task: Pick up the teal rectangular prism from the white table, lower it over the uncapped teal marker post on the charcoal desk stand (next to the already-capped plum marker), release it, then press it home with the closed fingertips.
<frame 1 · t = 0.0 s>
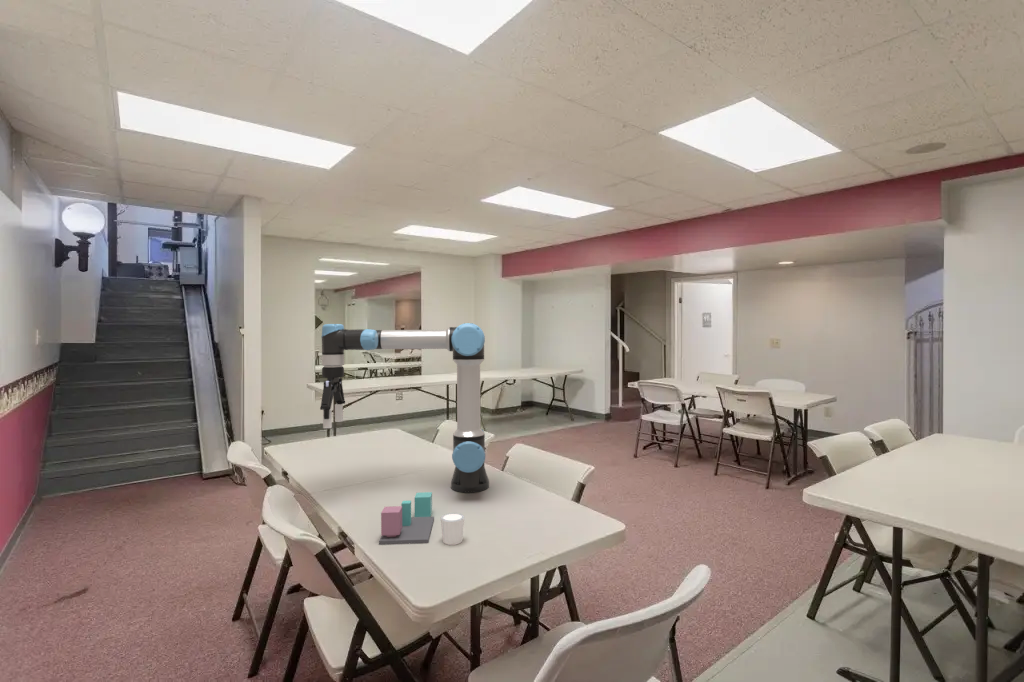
hand: (333, 424, 174), 28 cm above the table, fingers open, 13 cm apart
stand: (408, 531, 147), on the table
white cup: (452, 541, 140), on the table
teal rectangular prism: (423, 514, 161), on the table
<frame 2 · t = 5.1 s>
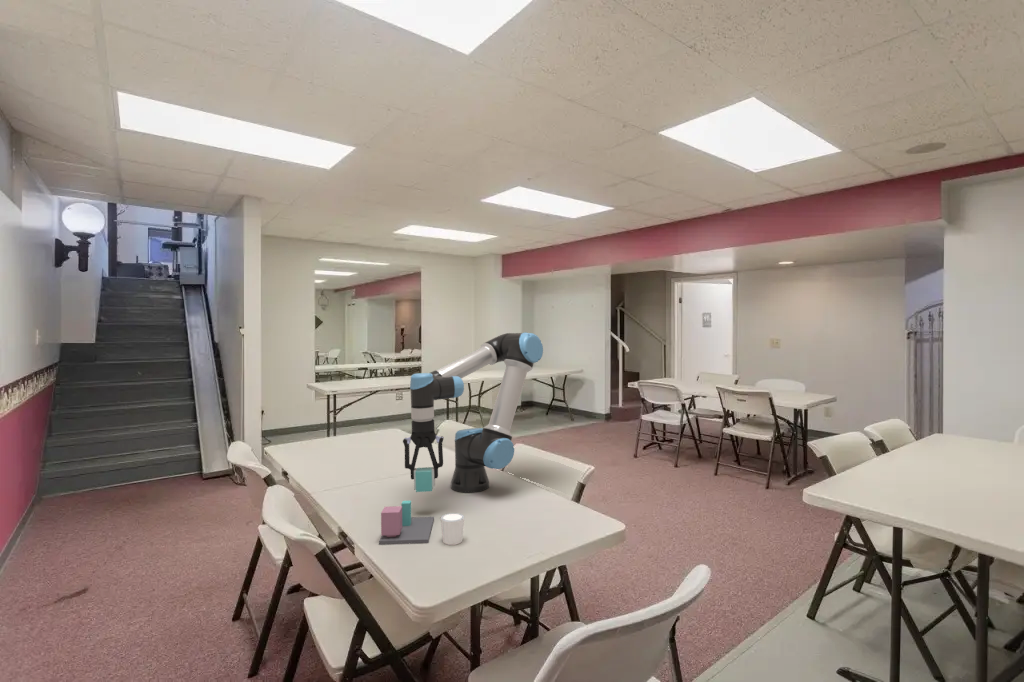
hand: (424, 487, 161), 9 cm above the table, fingers closed on teal rectangular prism, 5 cm apart
teal rectangular prism: (424, 489, 161), point 8 cm above the table, touching gripper
everything else where it was.
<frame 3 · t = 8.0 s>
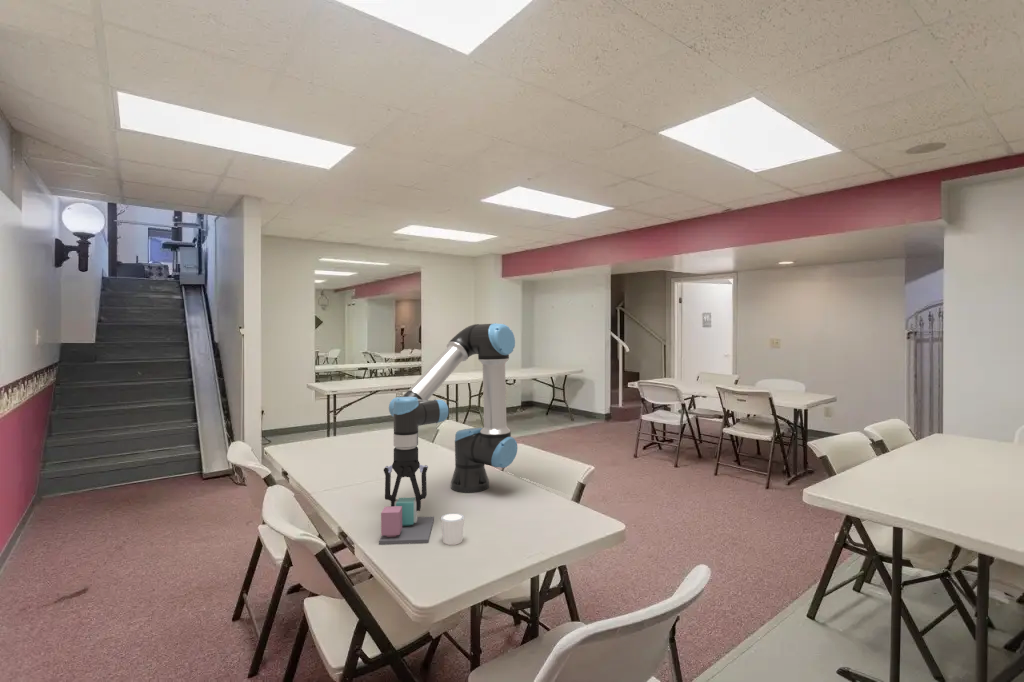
hand: (406, 521, 149), 2 cm above the table, fingers closed on teal rectangular prism, 5 cm apart
teal rectangular prism: (406, 521, 149), point 2 cm above the table, touching gripper, stand
everything else where it was.
when the fingers open (2 cm above the table, at t = 8.1 s): teal rectangular prism stays where it is, resting on stand.
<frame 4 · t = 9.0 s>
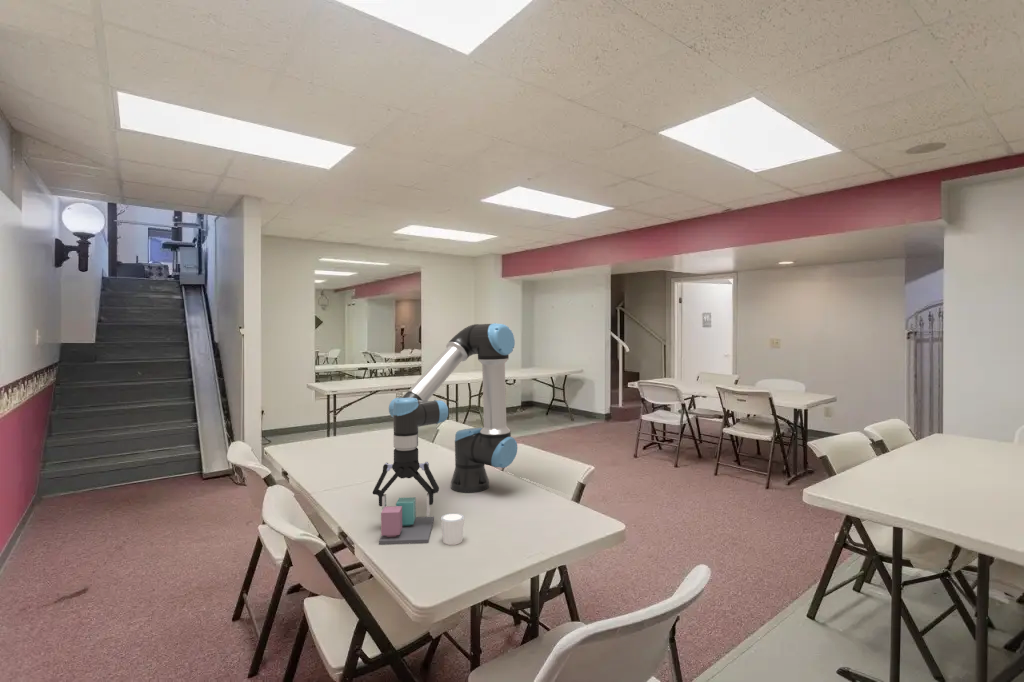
hand: (406, 515, 150), 4 cm above the table, fingers open, 13 cm apart
teal rectangular prism: (406, 521, 149), point 2 cm above the table, touching stand
everything else where it was.
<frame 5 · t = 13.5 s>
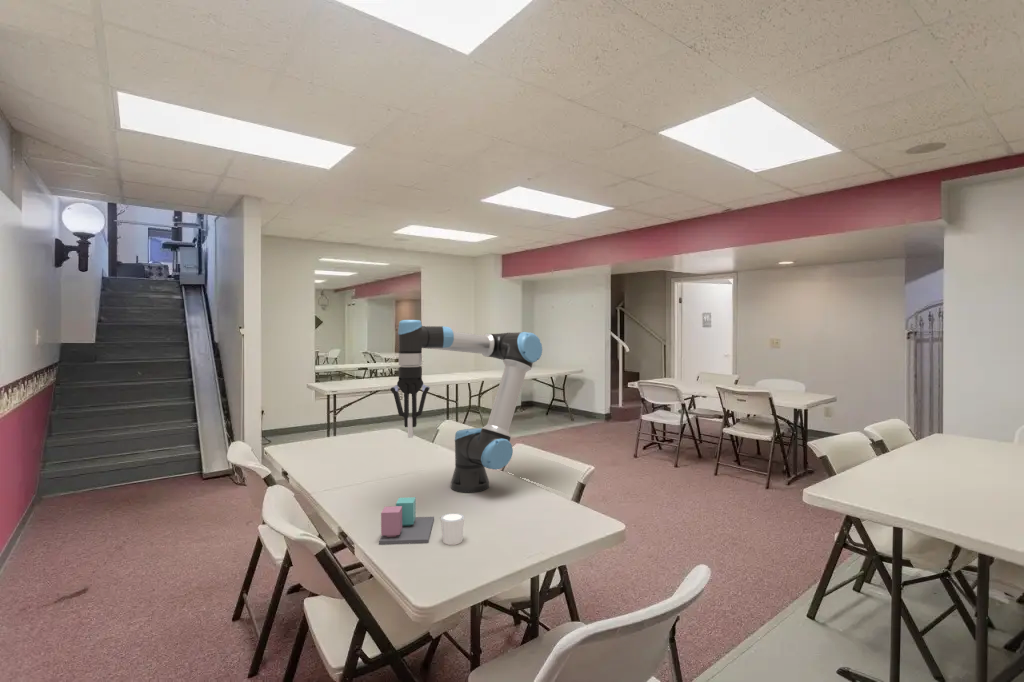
hand: (410, 436, 160), 26 cm above the table, fingers closed
nothing on the table moved.
at the end: teal rectangular prism 0.1 cm from the target spot on the stand, point 2.0 cm above the stand's base; teal rectangular prism tilted 0°; the gripper is holding nothing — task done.
